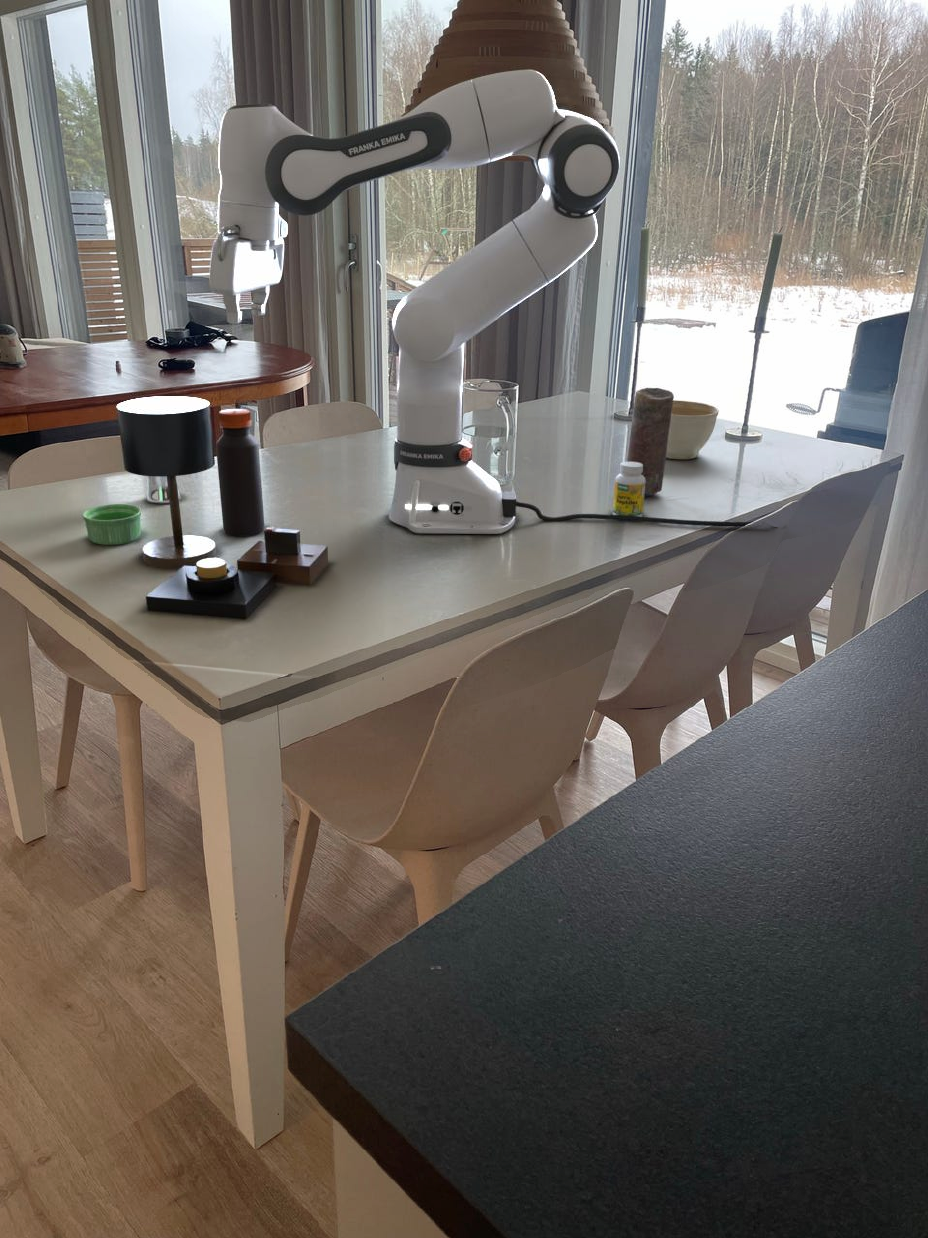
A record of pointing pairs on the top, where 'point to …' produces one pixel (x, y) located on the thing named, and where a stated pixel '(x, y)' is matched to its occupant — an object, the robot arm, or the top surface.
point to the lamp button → (211, 568)
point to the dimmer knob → (282, 541)
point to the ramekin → (113, 523)
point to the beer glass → (159, 490)
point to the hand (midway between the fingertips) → (246, 318)
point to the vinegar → (239, 475)
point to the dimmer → (287, 563)
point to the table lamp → (169, 463)
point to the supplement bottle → (629, 490)
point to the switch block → (212, 593)
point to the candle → (651, 435)
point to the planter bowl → (689, 428)
